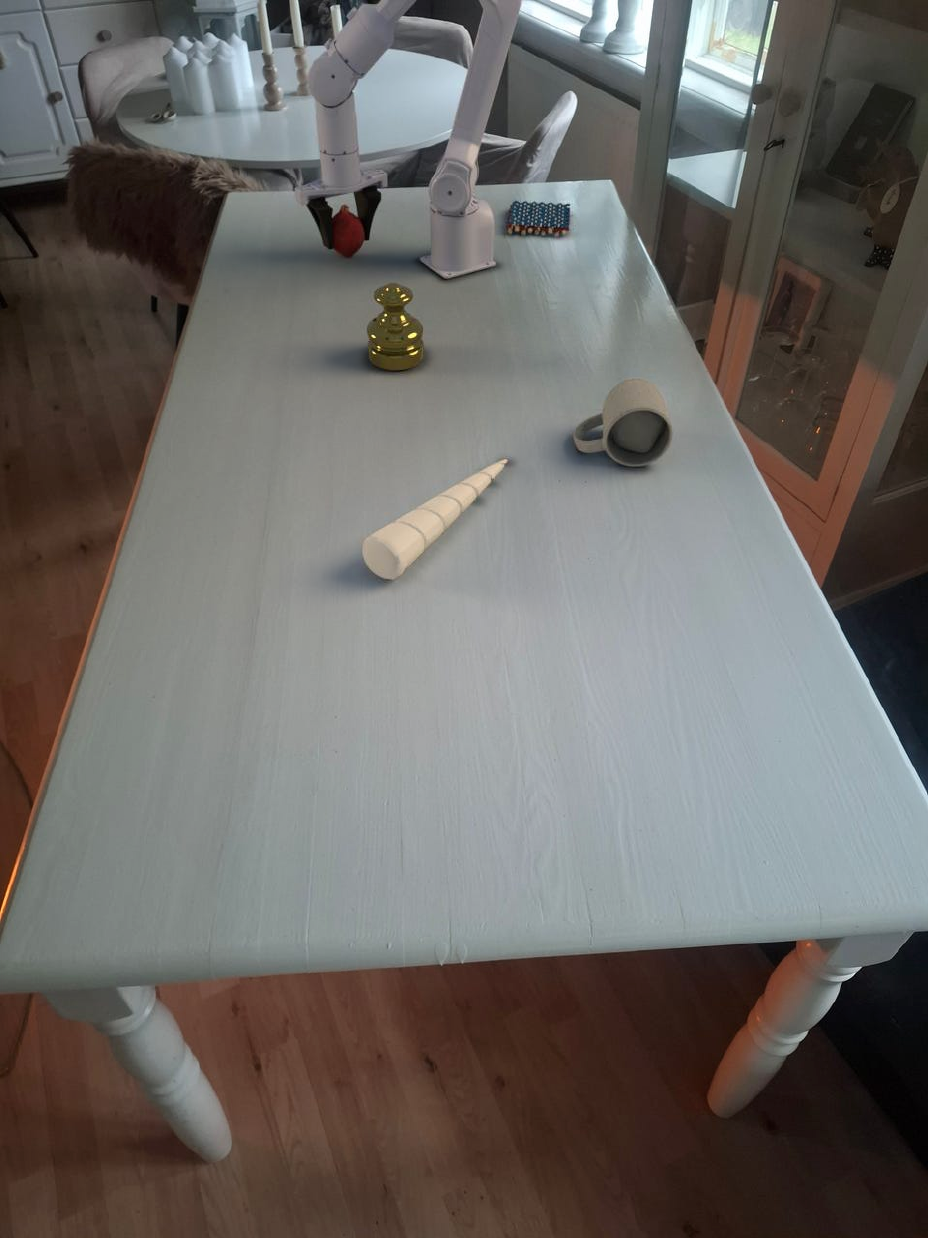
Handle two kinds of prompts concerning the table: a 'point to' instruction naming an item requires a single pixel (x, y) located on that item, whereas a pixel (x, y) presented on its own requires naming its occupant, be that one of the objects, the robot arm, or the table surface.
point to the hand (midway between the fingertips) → (346, 242)
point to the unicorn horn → (422, 526)
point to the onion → (347, 232)
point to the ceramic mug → (630, 425)
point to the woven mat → (538, 217)
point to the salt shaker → (394, 331)
